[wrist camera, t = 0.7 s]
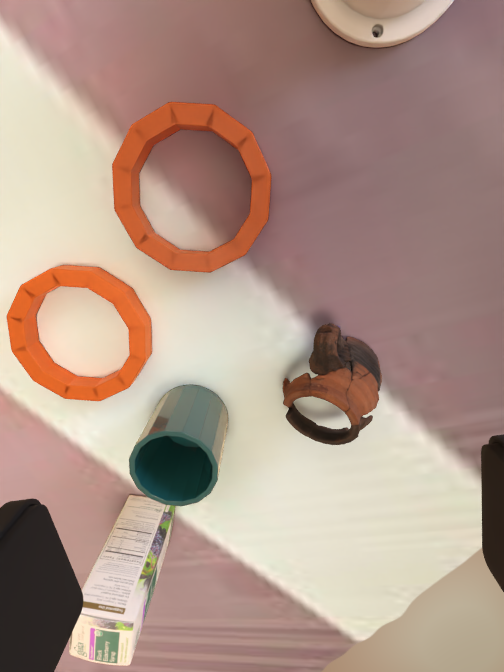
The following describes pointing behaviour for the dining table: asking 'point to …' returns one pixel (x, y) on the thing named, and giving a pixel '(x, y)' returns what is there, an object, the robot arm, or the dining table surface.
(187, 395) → the tumbler
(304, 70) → the dining table surface
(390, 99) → the dining table surface
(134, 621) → the syrup box
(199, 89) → the dining table surface
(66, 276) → the orange ring
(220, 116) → the orange ring
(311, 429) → the broken clay pot
